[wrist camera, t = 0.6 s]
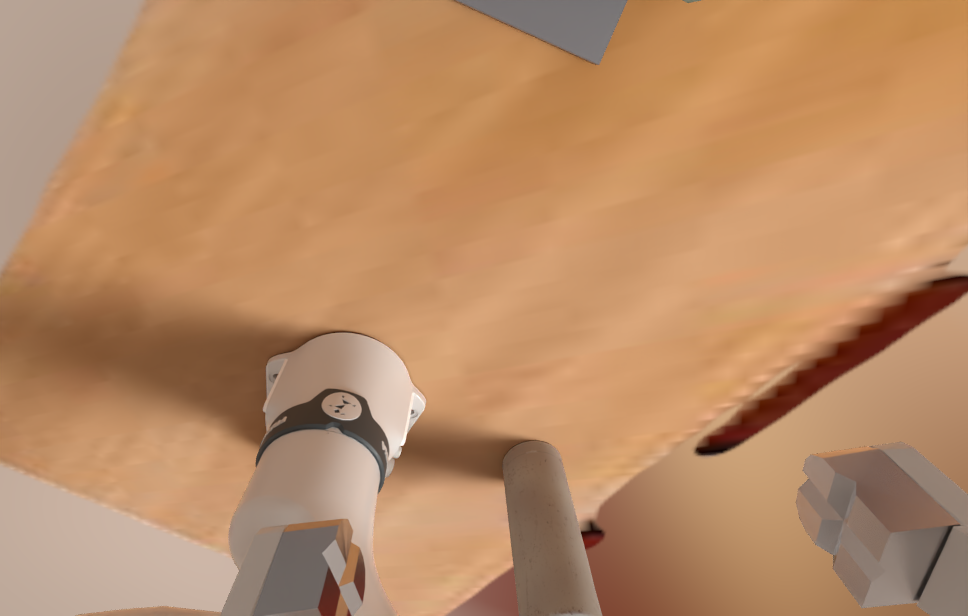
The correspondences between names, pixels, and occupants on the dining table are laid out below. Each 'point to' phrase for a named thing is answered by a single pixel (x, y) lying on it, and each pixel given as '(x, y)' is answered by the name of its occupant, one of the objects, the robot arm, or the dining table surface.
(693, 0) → the block
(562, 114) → the dining table surface
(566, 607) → the thermos bottle
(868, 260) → the dining table surface
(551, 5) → the grey flat rectangular block
